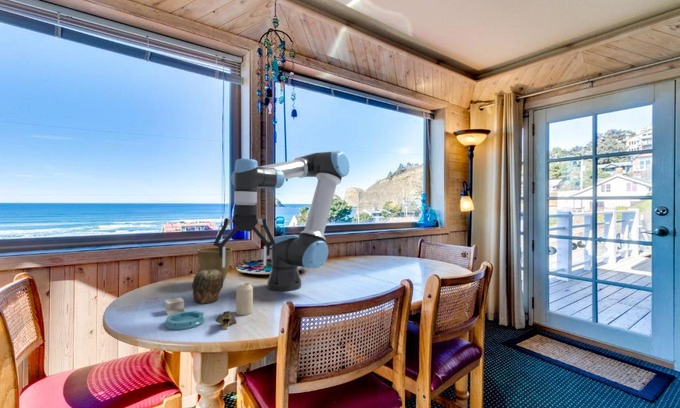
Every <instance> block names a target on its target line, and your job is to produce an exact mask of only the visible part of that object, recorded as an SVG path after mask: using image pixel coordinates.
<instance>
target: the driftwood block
mask: <svg viewBox="0 0 680 408" xmlns="http://www.w3.org/2000/svg"><path fill="white" fill-rule="evenodd" d="M184 311H185V300H184V299H183V298H182V297H177V298H171V299H165V300H164V312H165V313H166V315H167V316H169V315H172V314H175V313H178V312H184Z"/></svg>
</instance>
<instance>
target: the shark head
mask: <svg viewBox="0 0 680 408" xmlns="http://www.w3.org/2000/svg"><path fill="white" fill-rule="evenodd" d="M215 322H216V323H219V324H220V325H221V329H222V330H224V331H225V330H228V329H229V326H230V325H235V324H237V320H236V317H235V316H234V315H233V312H232V311H229V310H226V311H223V313H222V314H219V315H217V316H216V318H215Z"/></svg>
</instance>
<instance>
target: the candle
mask: <svg viewBox="0 0 680 408" xmlns="http://www.w3.org/2000/svg"><path fill="white" fill-rule="evenodd" d="M235 290H236V292H235V293H236V298H235V310H236V311H235V313H236V315H238V316H246V315H247V316H249V315H250V314H253V311H254V303H253V302H254V287H253V285H251V284H250V283H249V282H246V283H243V284H239V285H238V286H237V287H236V288H235Z"/></svg>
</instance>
